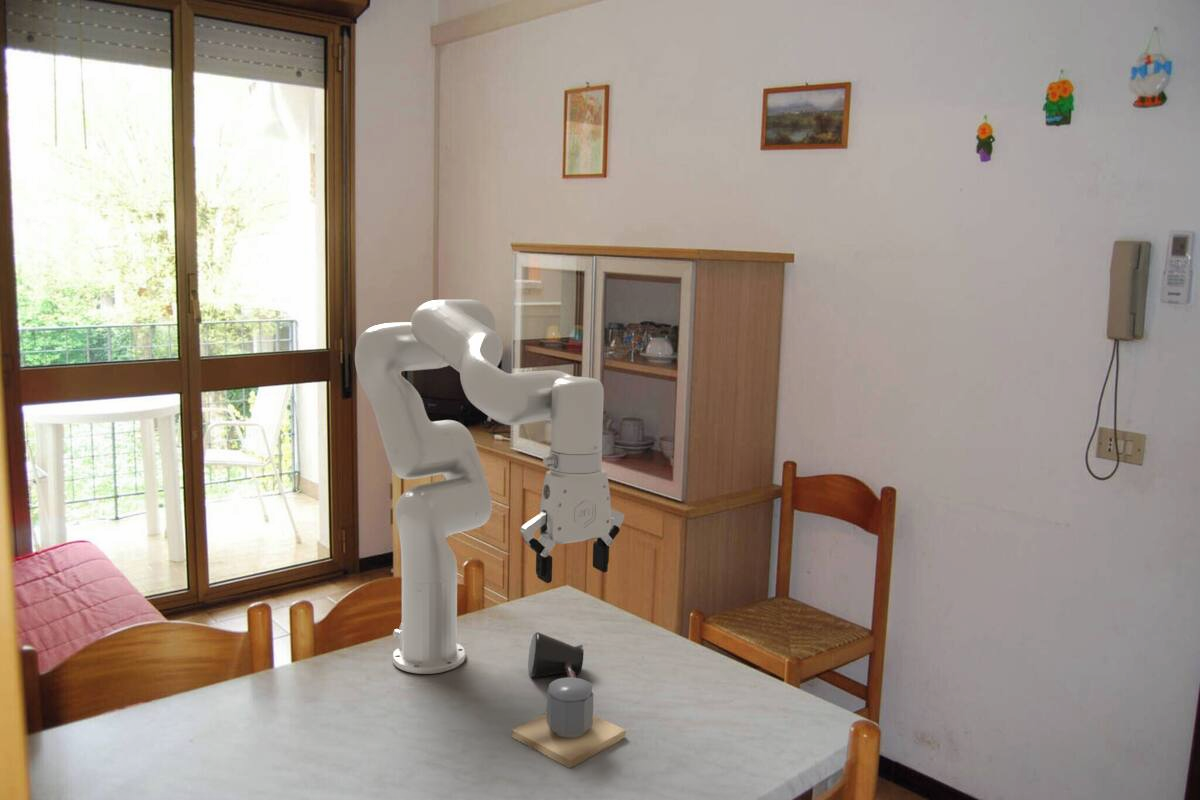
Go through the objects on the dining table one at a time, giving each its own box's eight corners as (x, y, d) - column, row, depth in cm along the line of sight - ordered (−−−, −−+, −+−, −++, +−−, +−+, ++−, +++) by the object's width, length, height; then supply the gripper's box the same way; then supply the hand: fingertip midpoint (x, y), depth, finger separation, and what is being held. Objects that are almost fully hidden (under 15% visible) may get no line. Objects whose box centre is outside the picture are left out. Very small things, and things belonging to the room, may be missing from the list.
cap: (595, 732, 135) (597, 694, 134) (553, 736, 134) (554, 699, 133) (584, 711, 141) (585, 675, 140) (543, 715, 140) (544, 679, 139)
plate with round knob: (511, 737, 137) (512, 695, 136) (567, 709, 146) (568, 670, 145) (570, 768, 129) (571, 723, 128) (625, 737, 138) (627, 695, 137)
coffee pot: (526, 661, 163) (573, 666, 164) (533, 724, 146) (586, 729, 147) (534, 623, 161) (581, 629, 162) (542, 682, 144) (595, 688, 145)
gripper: (536, 473, 127) (534, 592, 129) (639, 461, 136) (634, 573, 139) (511, 462, 133) (509, 576, 135) (610, 452, 142) (607, 559, 145)
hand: (572, 574), depth 137 cm, fingers open, 9 cm apart
